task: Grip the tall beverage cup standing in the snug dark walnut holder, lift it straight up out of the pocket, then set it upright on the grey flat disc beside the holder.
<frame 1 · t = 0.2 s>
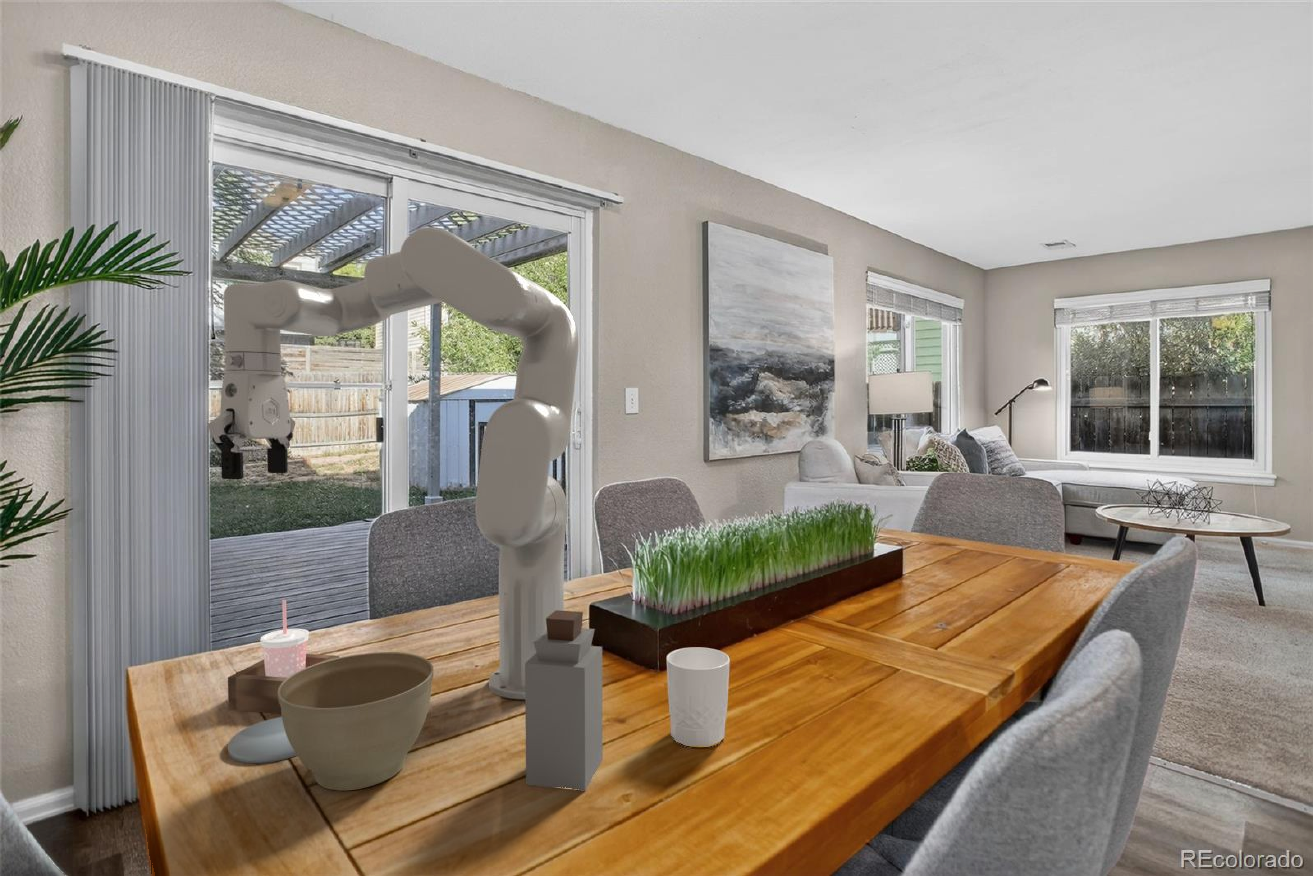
hand: (256, 475, 110), 31 cm above the table, tool pointing down, fingers open, 9 cm apart
beverage cup: (286, 698, 100), resting in cup holder
perfume bottle: (565, 774, 80), on the table
planter bowl: (360, 772, 80), on the table
white cup: (697, 737, 88), on the table
cup holder: (286, 697, 100), on the table
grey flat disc: (280, 740, 87), on the table
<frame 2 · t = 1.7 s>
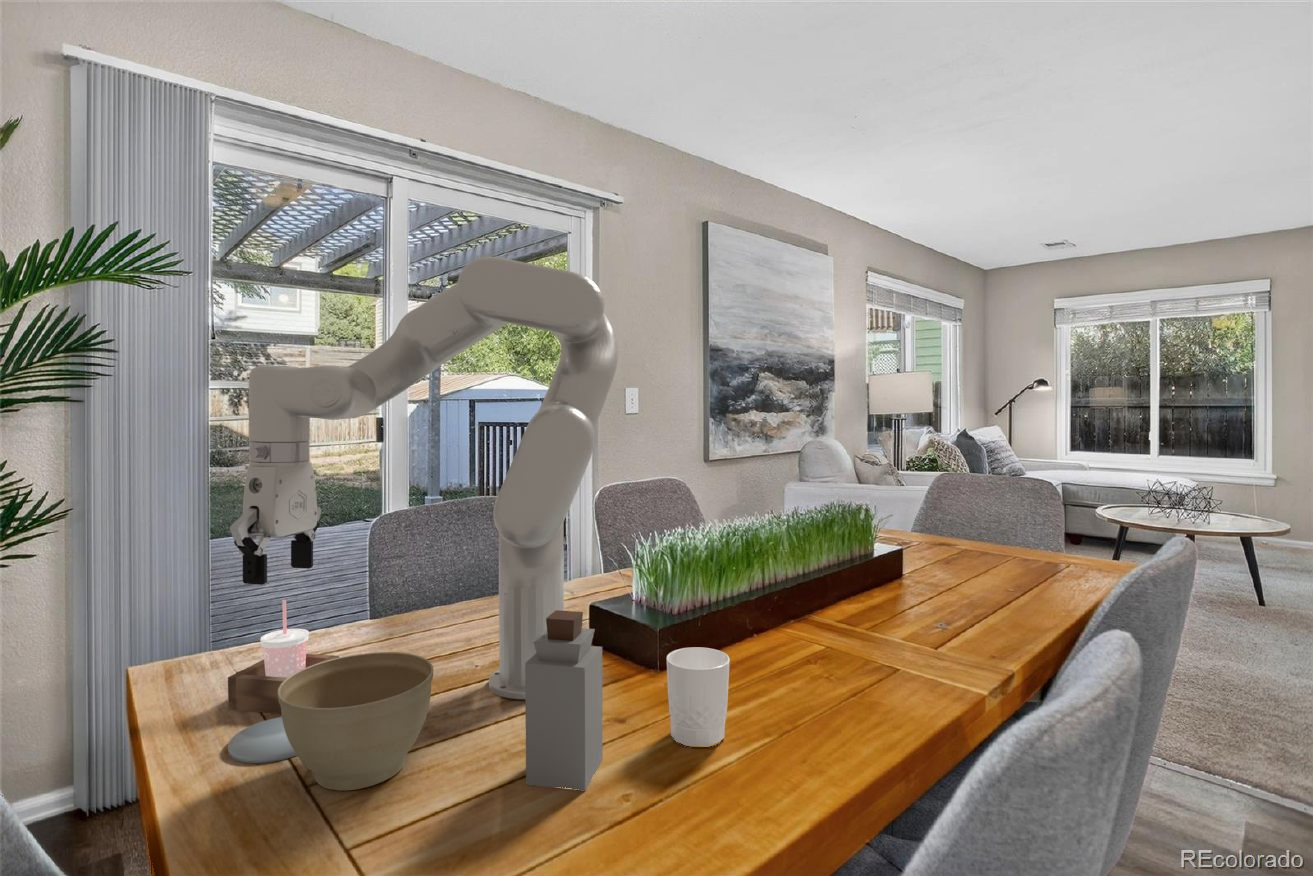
hand: (279, 575, 99), 18 cm above the table, tool pointing down, fingers open, 9 cm apart
nothing on the table moved.
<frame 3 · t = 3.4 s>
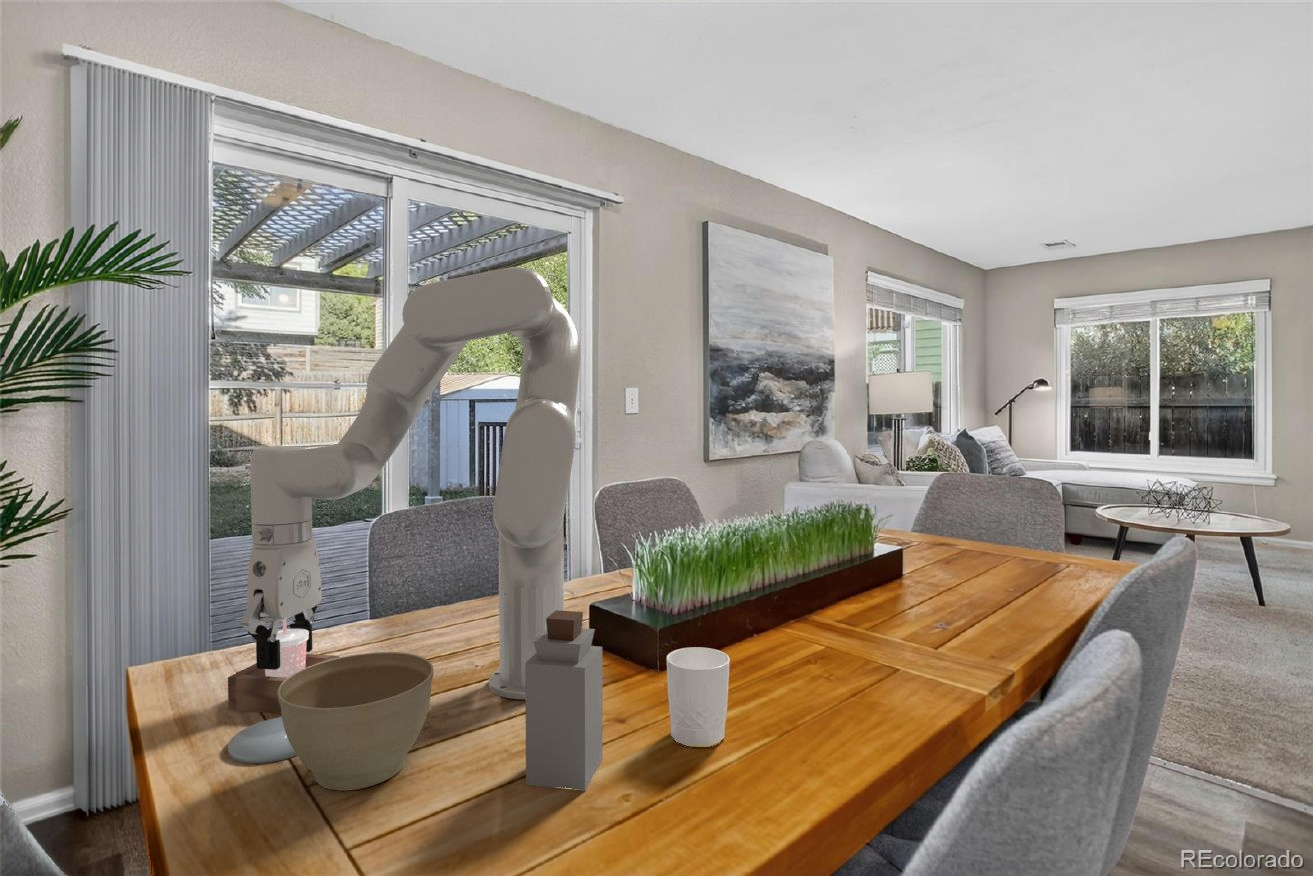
hand: (285, 658, 100), 6 cm above the table, tool pointing down, fingers closed on beverage cup, 6 cm apart
beverage cup: (286, 698, 100), resting in cup holder, touching gripper
everything else where it was.
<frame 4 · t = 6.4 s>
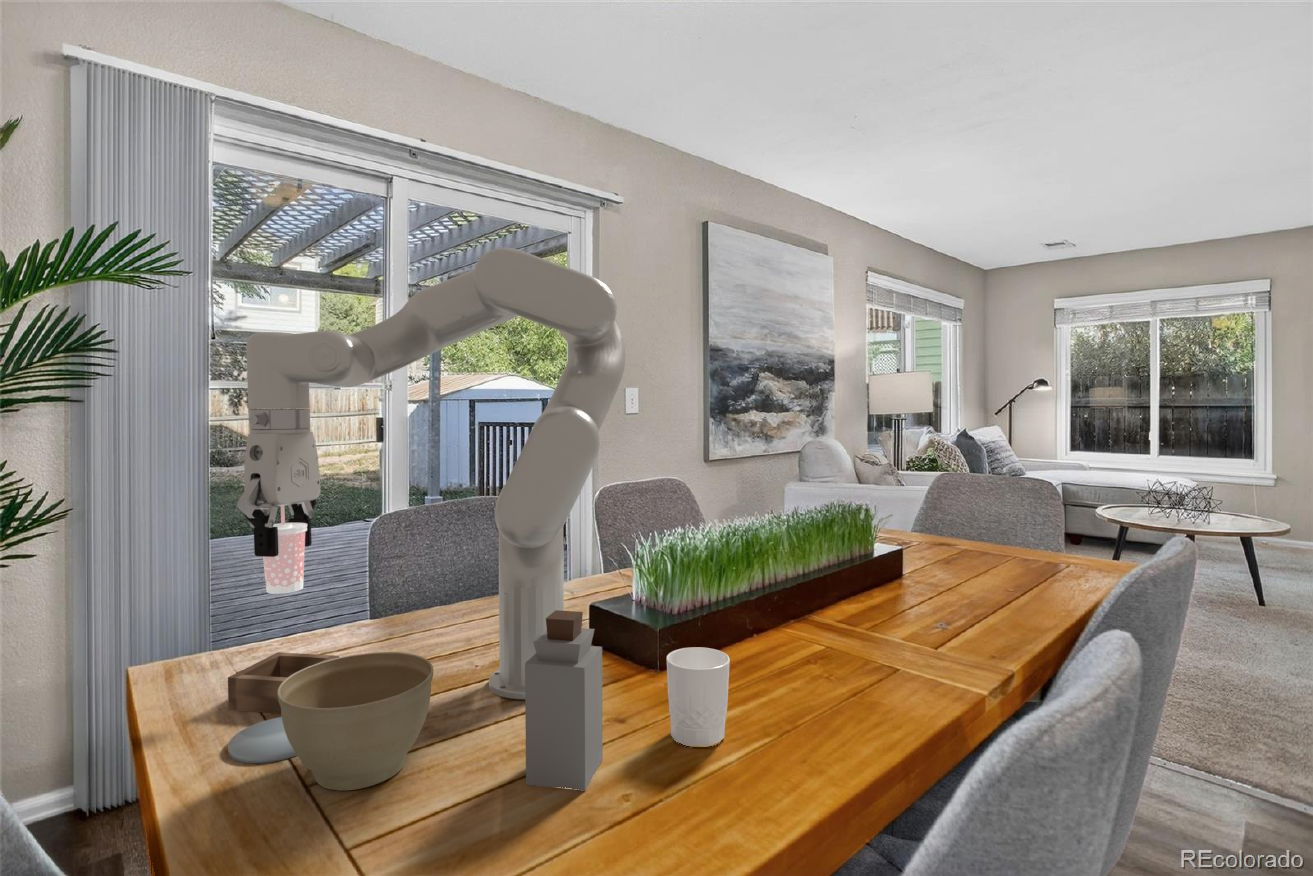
hand: (284, 549, 98), 21 cm above the table, tool pointing down, fingers closed on beverage cup, 6 cm apart
beverage cup: (285, 590, 99), point 15 cm above the table, touching gripper
everything else where it was.
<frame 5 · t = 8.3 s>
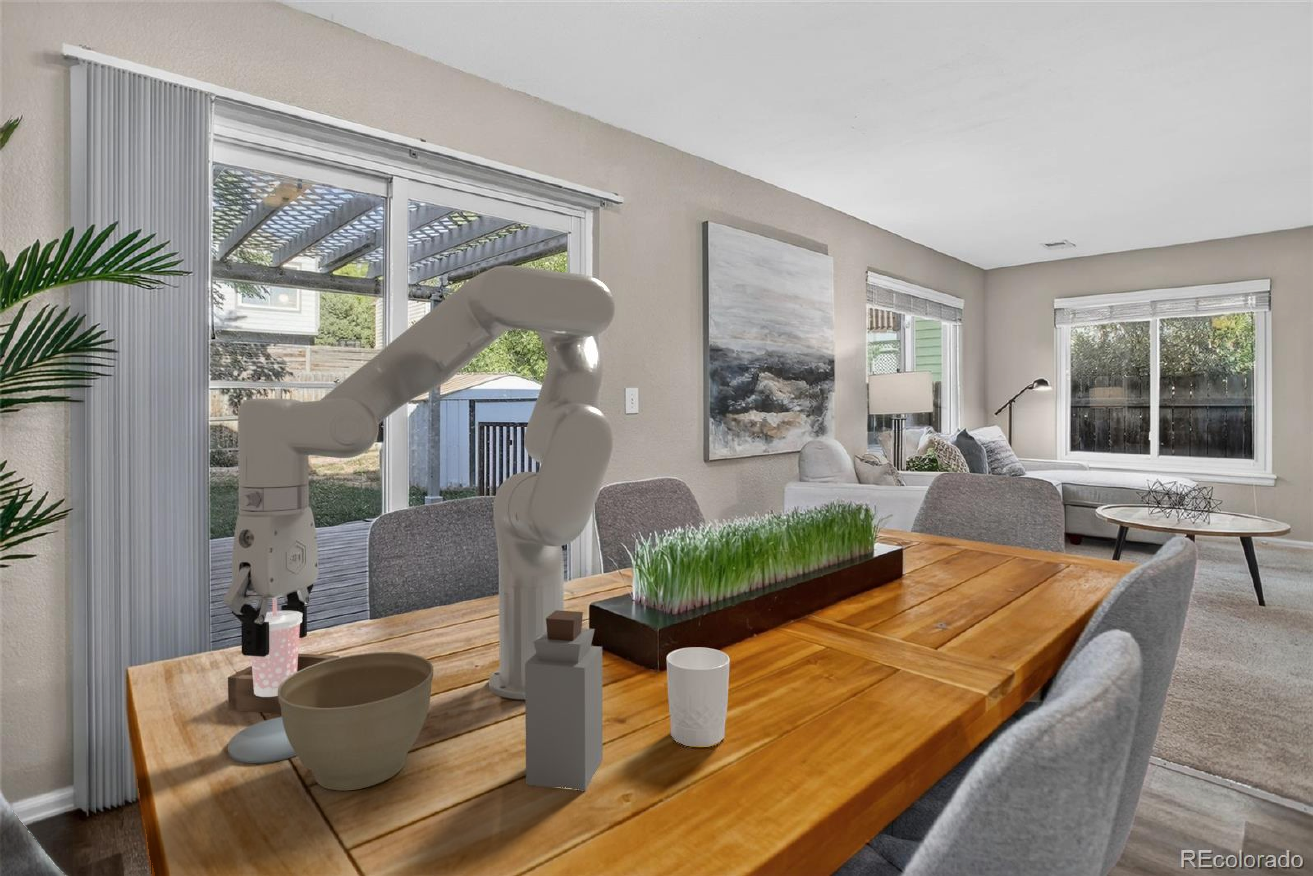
hand: (275, 644, 86), 12 cm above the table, tool pointing down, fingers closed on beverage cup, 6 cm apart
beverage cup: (275, 691, 87), point 6 cm above the table, touching gripper
everything else where it was.
when the fingers open (7 cm above the table, at t = 9.6 s): beverage cup moves 1 cm, resting on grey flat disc.
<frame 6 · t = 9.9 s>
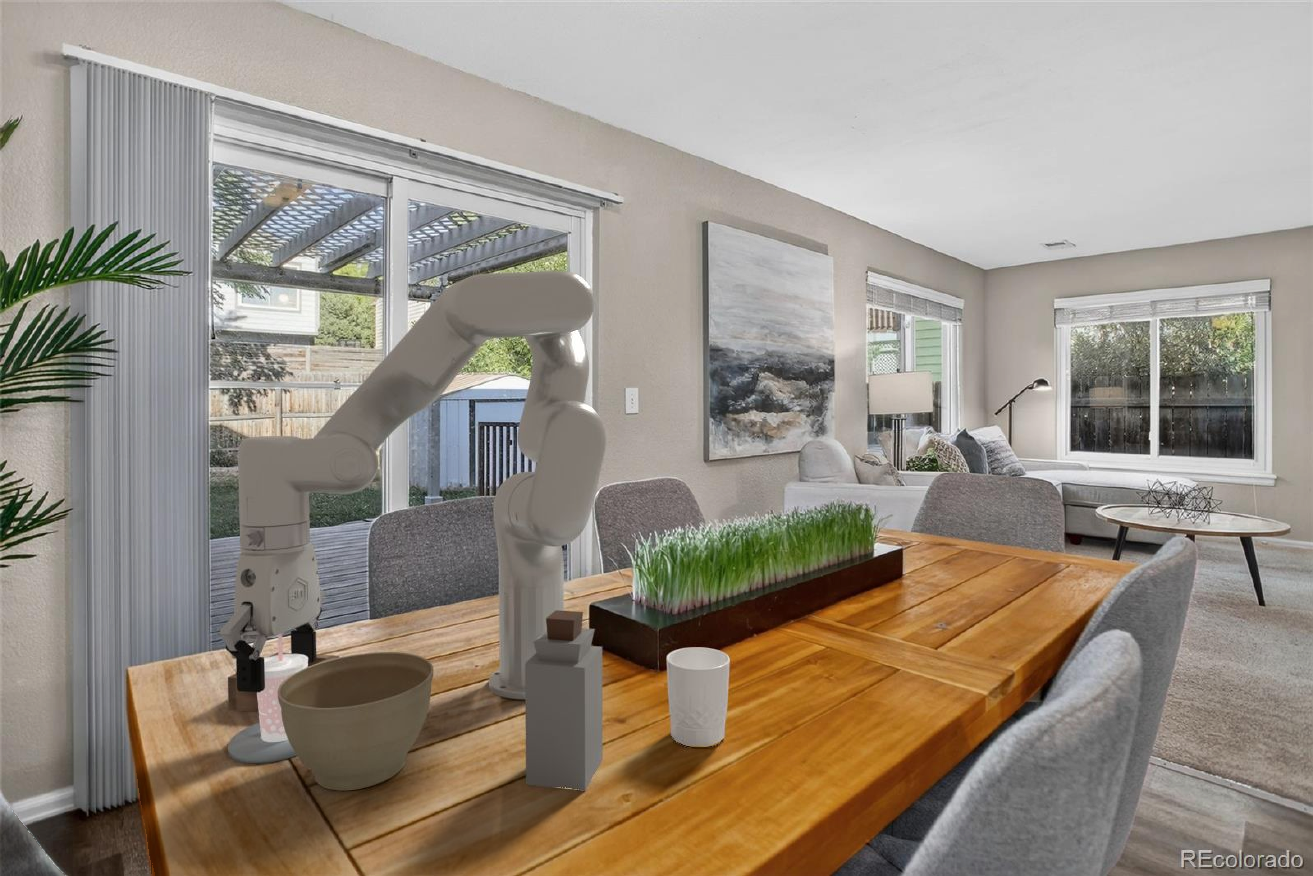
hand: (278, 675, 87), 8 cm above the table, tool pointing down, fingers open, 9 cm apart
beverage cup: (282, 735, 87), point 1 cm above the table, touching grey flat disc
everything else where it was.
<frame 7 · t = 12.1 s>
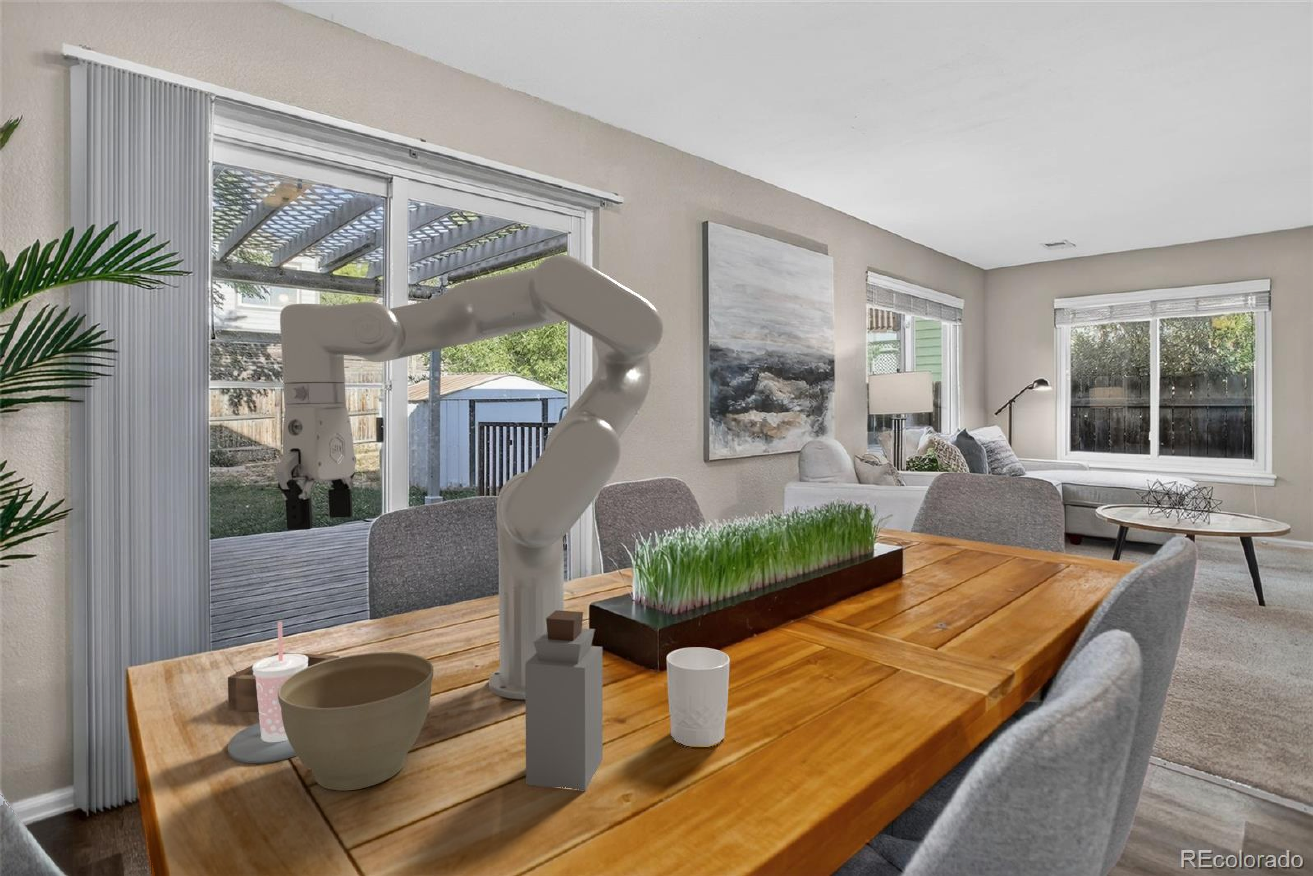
hand: (321, 522, 96), 26 cm above the table, tool pointing down, fingers open, 9 cm apart
nothing on the table moved.
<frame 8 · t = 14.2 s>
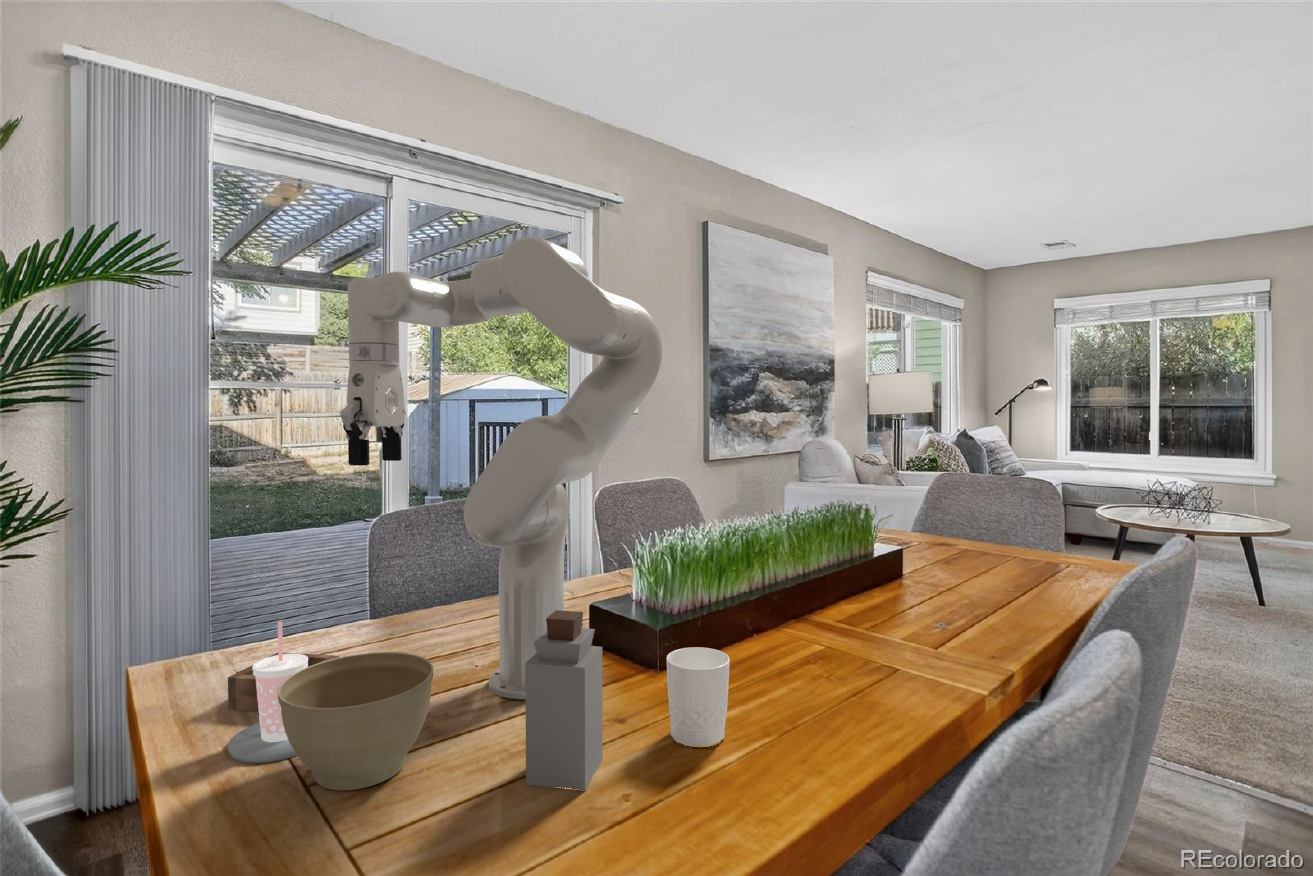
hand: (376, 462, 114), 32 cm above the table, tool pointing down, fingers open, 9 cm apart
nothing on the table moved.
at the end: beverage cup 0.3 cm from the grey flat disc (horizontally); beverage cup tilted 0°; the gripper is holding nothing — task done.
